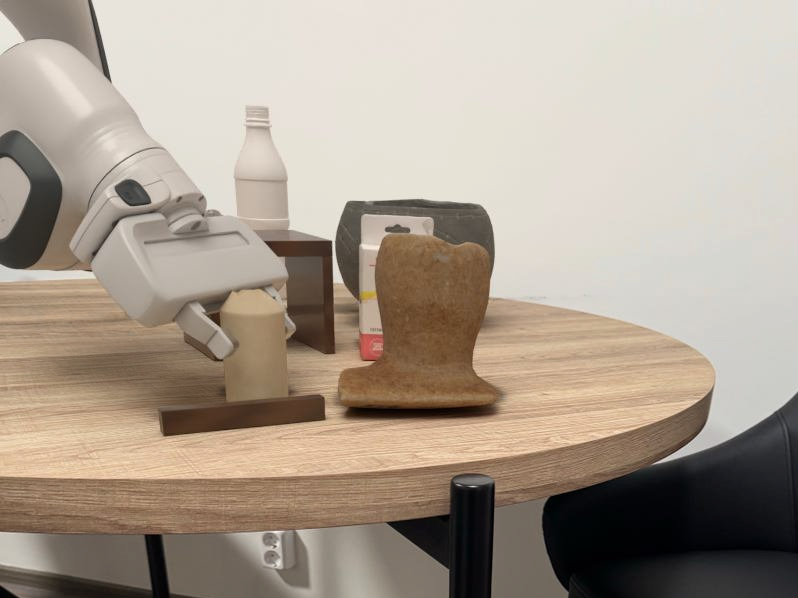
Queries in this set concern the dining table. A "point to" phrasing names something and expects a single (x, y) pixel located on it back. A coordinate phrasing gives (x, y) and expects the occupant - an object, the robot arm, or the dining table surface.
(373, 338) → the ink cartridge box
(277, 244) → the shelf unit
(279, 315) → the candle
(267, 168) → the water bottle
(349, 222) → the bowl
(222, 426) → the rail
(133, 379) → the dining table surface
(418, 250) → the tan flared-base block
